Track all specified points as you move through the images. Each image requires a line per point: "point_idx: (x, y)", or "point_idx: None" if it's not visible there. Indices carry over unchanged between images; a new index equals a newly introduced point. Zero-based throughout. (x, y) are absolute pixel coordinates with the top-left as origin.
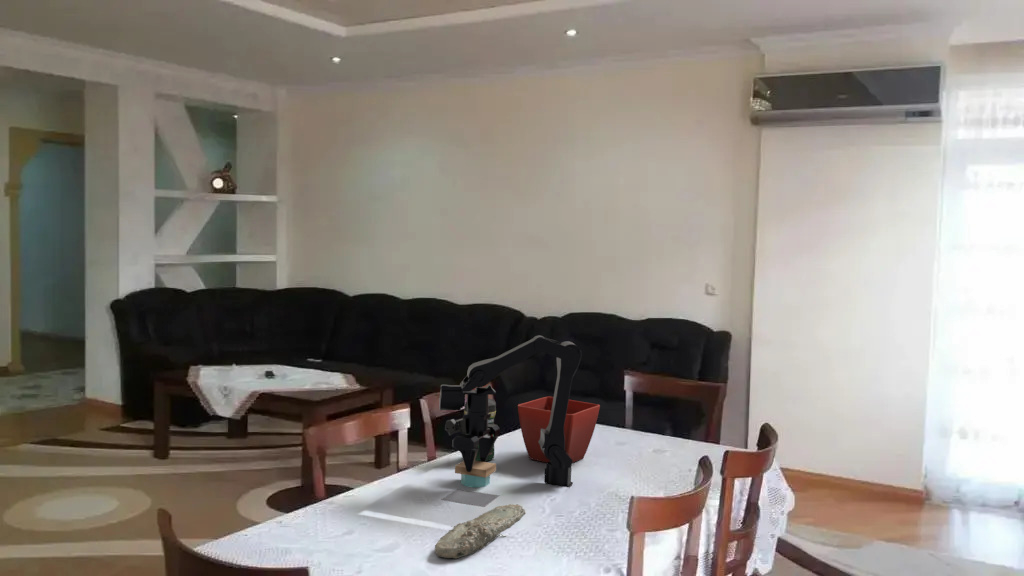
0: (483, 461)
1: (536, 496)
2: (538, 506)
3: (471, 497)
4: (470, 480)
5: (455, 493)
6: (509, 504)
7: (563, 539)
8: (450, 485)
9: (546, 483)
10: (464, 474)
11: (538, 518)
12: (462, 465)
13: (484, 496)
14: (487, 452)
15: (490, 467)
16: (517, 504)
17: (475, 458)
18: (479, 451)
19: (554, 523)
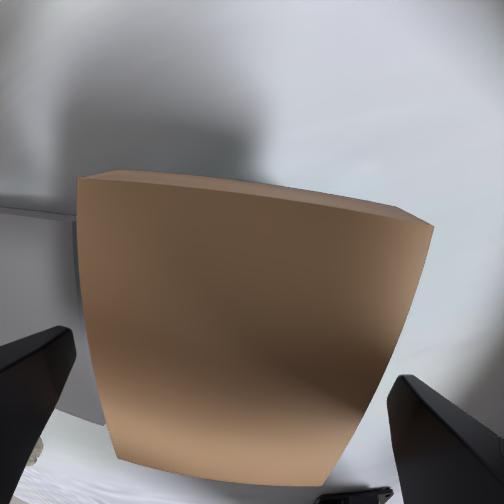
0: (394, 405)
1: (211, 492)
2: (125, 487)
3: (14, 326)
4: None
5: (13, 238)
6: None
7: None
8: (208, 114)
9: (338, 502)
10: None
11: (54, 471)
12: (123, 265)
13: None
14: (408, 499)
15: (203, 477)
16: (29, 461)
17: (17, 474)
18: (462, 440)
19: (55, 485)
